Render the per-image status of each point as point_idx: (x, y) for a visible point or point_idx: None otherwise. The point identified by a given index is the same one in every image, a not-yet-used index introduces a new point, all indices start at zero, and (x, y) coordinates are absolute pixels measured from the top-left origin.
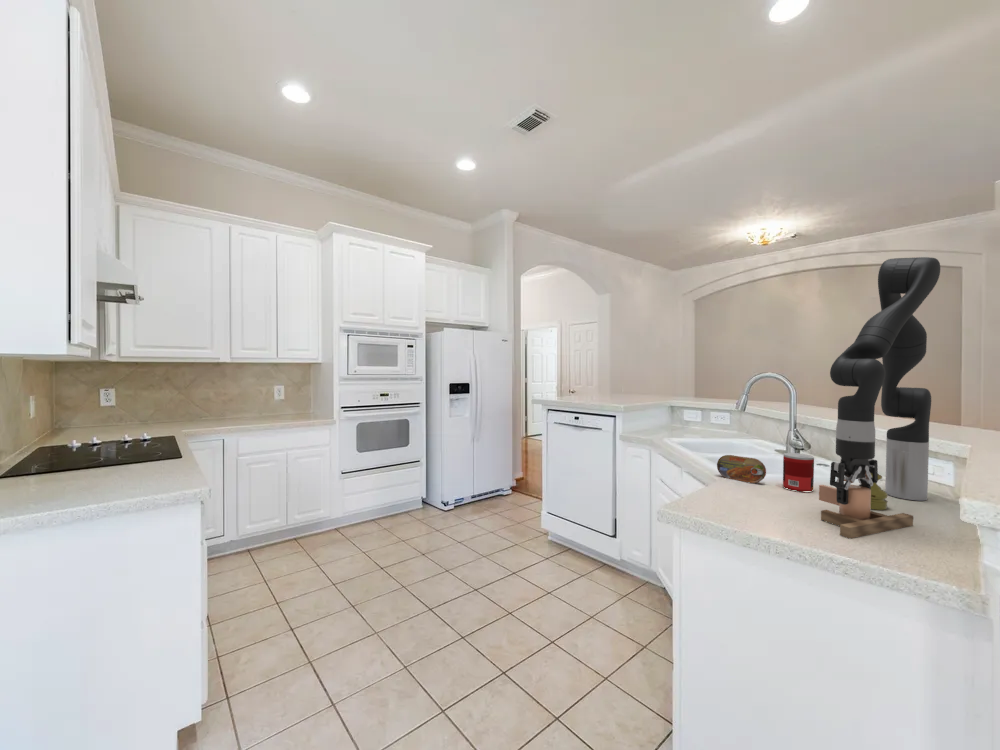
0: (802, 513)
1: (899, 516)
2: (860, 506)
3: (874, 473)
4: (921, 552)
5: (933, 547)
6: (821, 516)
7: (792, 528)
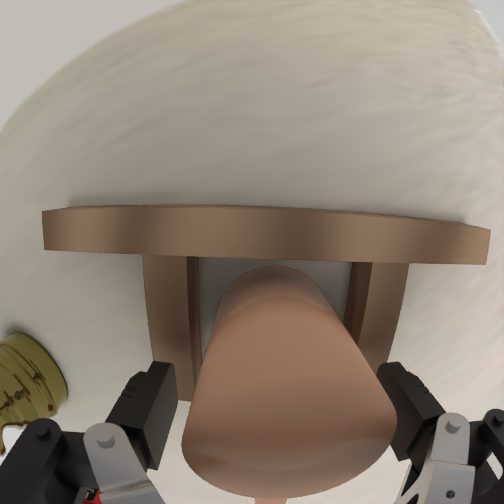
0: None
1: (101, 225)
2: (339, 324)
3: (32, 492)
4: (374, 51)
5: (276, 43)
6: None
7: (489, 336)
